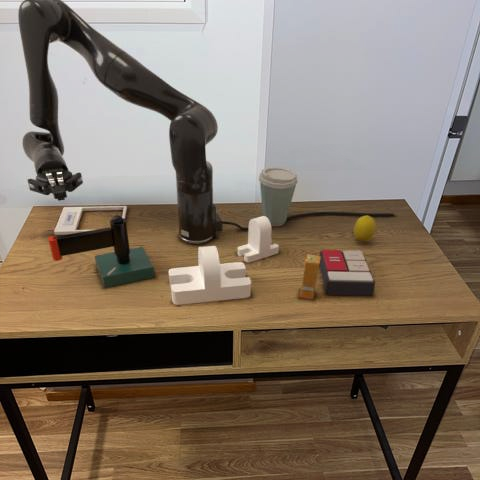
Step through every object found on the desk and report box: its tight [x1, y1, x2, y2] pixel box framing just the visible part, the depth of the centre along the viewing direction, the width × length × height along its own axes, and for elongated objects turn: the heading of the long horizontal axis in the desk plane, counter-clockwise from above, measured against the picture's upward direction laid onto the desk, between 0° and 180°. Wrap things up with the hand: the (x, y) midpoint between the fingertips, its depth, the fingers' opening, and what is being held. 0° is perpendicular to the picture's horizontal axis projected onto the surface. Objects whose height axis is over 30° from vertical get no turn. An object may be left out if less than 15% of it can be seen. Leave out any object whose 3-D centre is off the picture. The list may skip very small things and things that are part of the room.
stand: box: [94, 246, 155, 289], centre depth 120 cm, size 12×10×5 cm
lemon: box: [353, 215, 377, 243], centre depth 133 cm, size 6×6×8 cm
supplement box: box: [299, 253, 321, 300], centre depth 113 cm, size 3×3×10 cm
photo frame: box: [53, 205, 128, 236], centre depth 140 cm, size 15×1×18 cm
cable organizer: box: [236, 215, 280, 264], centre depth 126 cm, size 5×10×10 cm, turn 122°
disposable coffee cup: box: [258, 166, 298, 227], centre depth 139 cm, size 11×11×15 cm
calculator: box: [318, 249, 376, 296], centre depth 120 cm, size 11×4×15 cm
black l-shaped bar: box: [47, 214, 131, 262], centre depth 113 cm, size 17×4×10 cm, turn 113°
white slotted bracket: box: [168, 245, 252, 306], centre depth 113 cm, size 10×18×11 cm, turn 102°
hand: (60, 196), depth 113 cm, fingers closed
